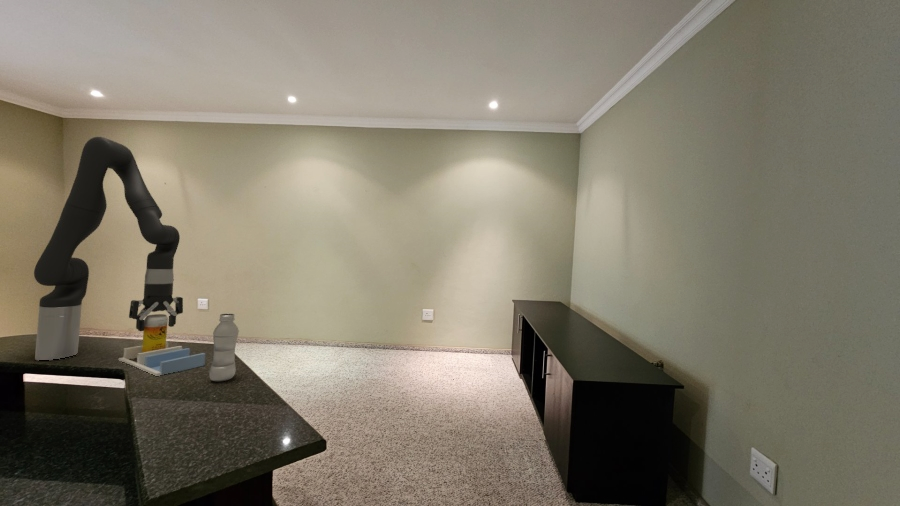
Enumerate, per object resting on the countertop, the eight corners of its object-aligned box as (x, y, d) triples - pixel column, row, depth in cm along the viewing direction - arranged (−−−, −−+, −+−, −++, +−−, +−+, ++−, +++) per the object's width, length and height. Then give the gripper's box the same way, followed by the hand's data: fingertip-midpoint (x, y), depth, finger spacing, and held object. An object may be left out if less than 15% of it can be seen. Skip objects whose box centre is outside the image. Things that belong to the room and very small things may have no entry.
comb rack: (118, 361, 110) (119, 349, 111) (165, 352, 122) (166, 341, 122) (156, 376, 100) (157, 363, 100) (204, 365, 112) (205, 353, 112)
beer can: (153, 362, 112) (157, 317, 112) (136, 360, 112) (139, 316, 112) (169, 356, 118) (172, 314, 118) (152, 355, 118) (155, 313, 118)
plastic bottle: (204, 380, 100) (209, 314, 100) (227, 374, 106) (232, 311, 106) (215, 385, 97) (221, 317, 97) (239, 379, 103) (244, 314, 103)
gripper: (177, 280, 123) (174, 323, 123) (127, 282, 110) (124, 330, 110) (188, 281, 120) (185, 326, 120) (138, 283, 107) (135, 334, 107)
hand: (156, 328), depth 115 cm, fingers open, 8 cm apart
